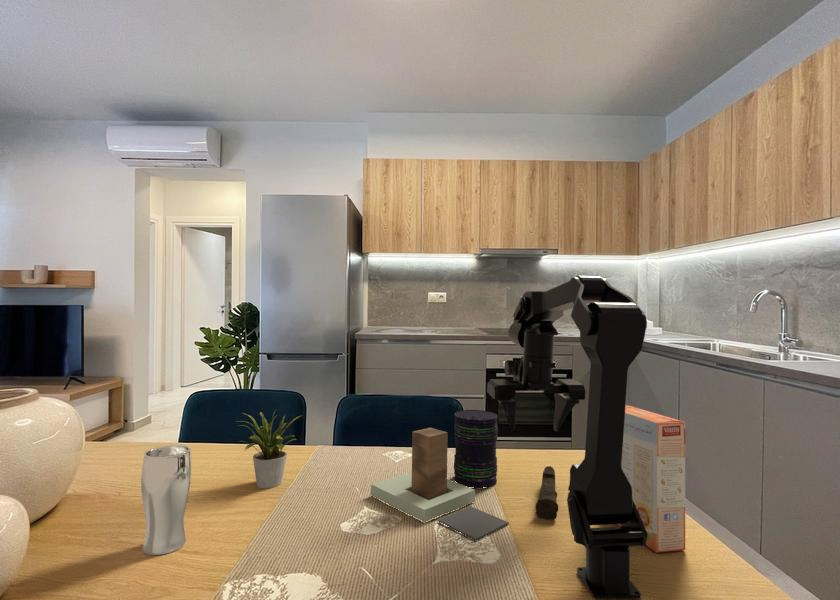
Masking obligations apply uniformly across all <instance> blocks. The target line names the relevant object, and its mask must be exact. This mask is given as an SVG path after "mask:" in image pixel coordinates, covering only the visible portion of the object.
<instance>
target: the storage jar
mask: <svg viewBox="0 0 840 600" xmlns="http://www.w3.org/2000/svg"><path fill="white" fill-rule="evenodd" d="M497 420H498V414H497V413H495V412H491V411H489V410H481V409H465V410H457V411H456V412H455V413H454V425H453V426H454V429H453V430H454V433H453V435H454V439H455V451H454V452H455V454H454V456H453V458H454V459H453V461H454V462H453V471H454V472H453V473H454V475H453V481H454V480H455V481H456V482H457V483H459V484H461V485H464V486H467V487H474V488H483V487H490V486H493V487H495V486H496V485H497V483H498V482H497V481H498V480H497V477H498V476H497V475H498V458H497V441H498V433H499V432H498V431H499V428H498V421H497ZM455 481H454V482H455ZM494 485H495V486H494Z"/></svg>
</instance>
